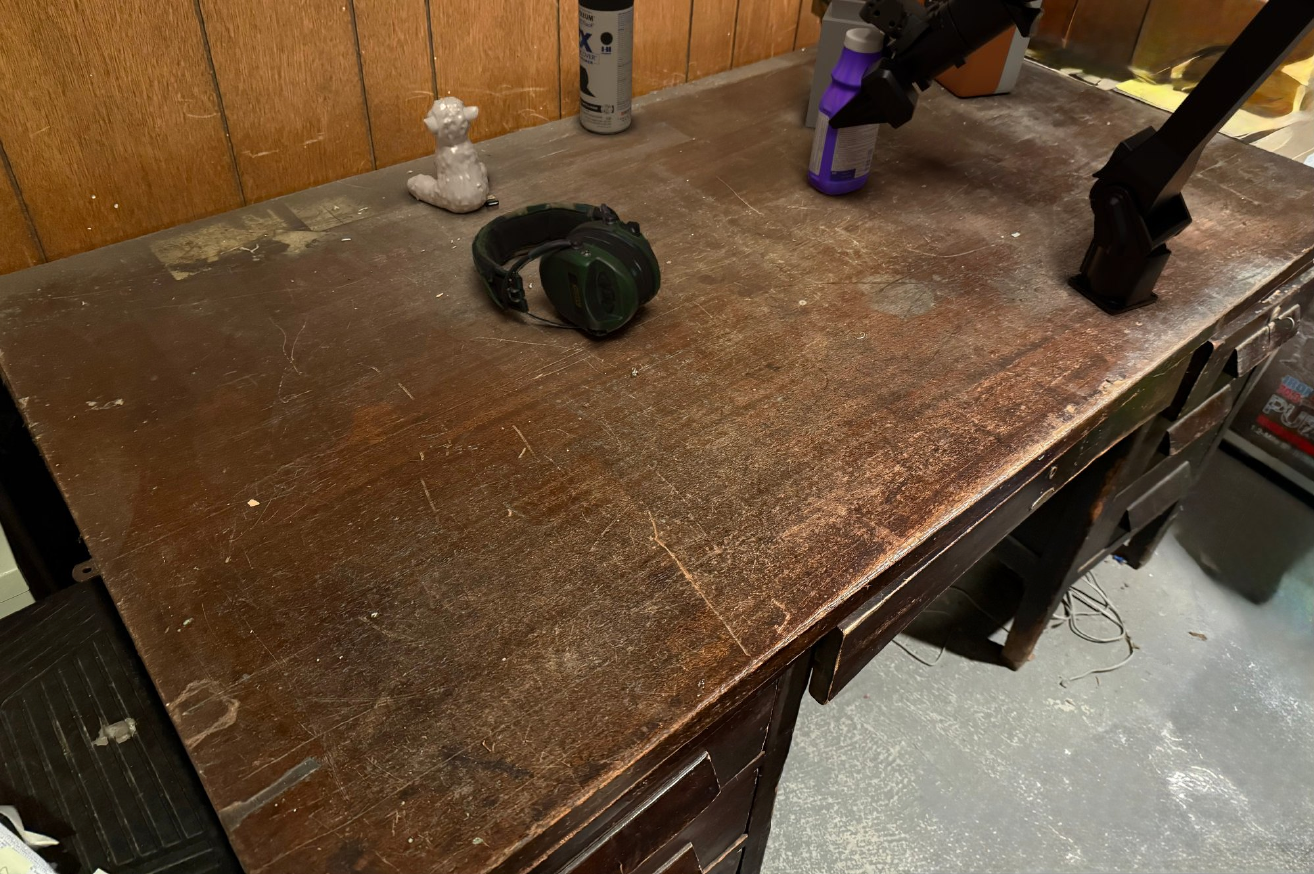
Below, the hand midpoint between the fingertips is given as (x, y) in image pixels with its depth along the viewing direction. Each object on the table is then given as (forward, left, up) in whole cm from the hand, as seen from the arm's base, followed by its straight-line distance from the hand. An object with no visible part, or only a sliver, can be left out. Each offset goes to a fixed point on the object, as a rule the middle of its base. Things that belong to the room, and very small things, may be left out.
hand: (837, 112), depth 100 cm
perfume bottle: (+14, -11, -9) cm, 20 cm away
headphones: (-10, +37, -9) cm, 39 cm away
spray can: (+24, +18, -9) cm, 31 cm away
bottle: (-1, -1, -9) cm, 9 cm away
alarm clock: (+21, -37, -9) cm, 43 cm away
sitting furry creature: (+12, +41, -9) cm, 44 cm away
